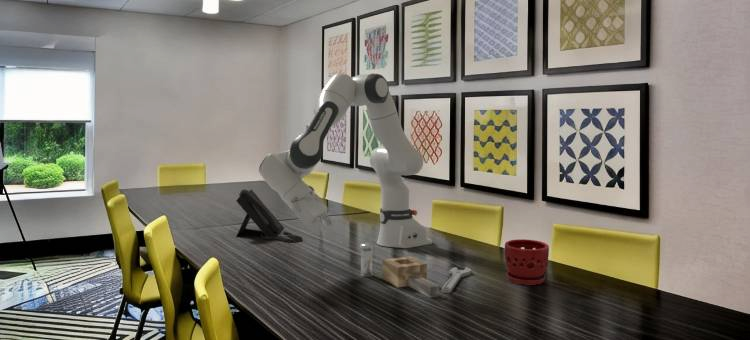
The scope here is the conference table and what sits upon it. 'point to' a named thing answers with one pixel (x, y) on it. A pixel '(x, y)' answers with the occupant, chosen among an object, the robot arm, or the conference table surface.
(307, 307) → the conference table surface
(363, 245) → the clear glass bottle
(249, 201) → the office phone
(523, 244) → the plant pot
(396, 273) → the mortise block
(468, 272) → the adjustable wrench
